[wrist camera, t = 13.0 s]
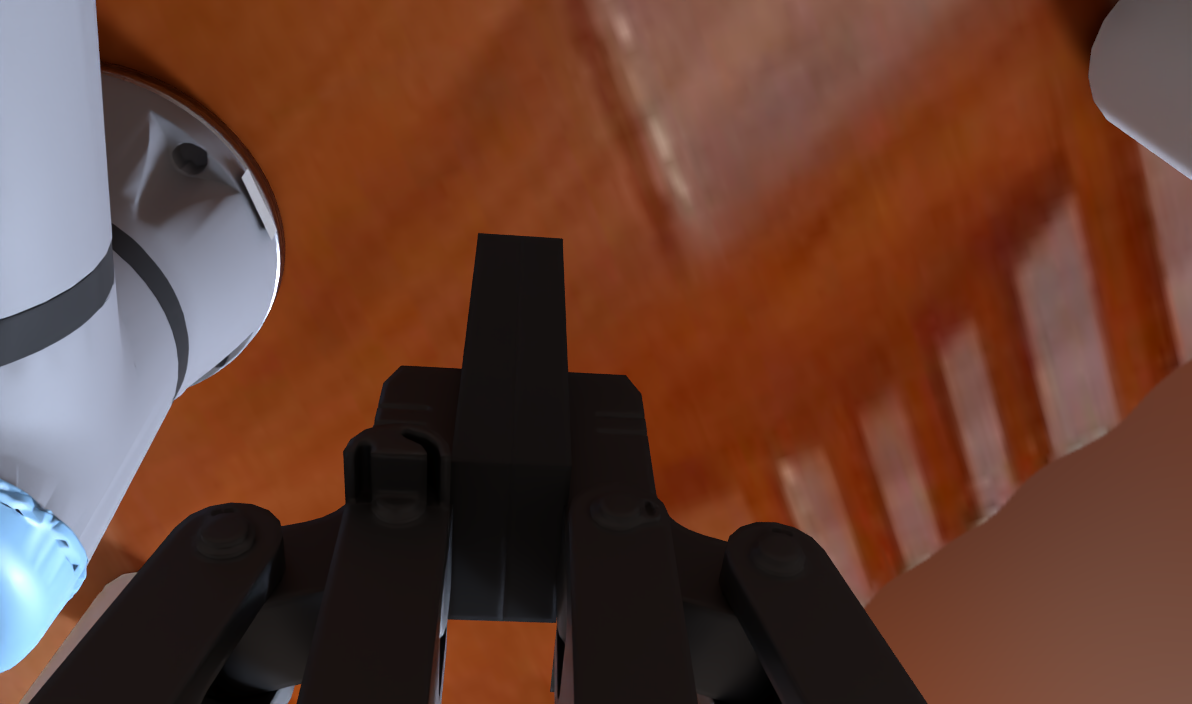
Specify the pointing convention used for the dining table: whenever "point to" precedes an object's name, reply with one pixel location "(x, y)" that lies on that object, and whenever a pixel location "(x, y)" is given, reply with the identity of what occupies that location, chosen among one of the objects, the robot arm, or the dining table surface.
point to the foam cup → (80, 631)
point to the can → (1147, 75)
